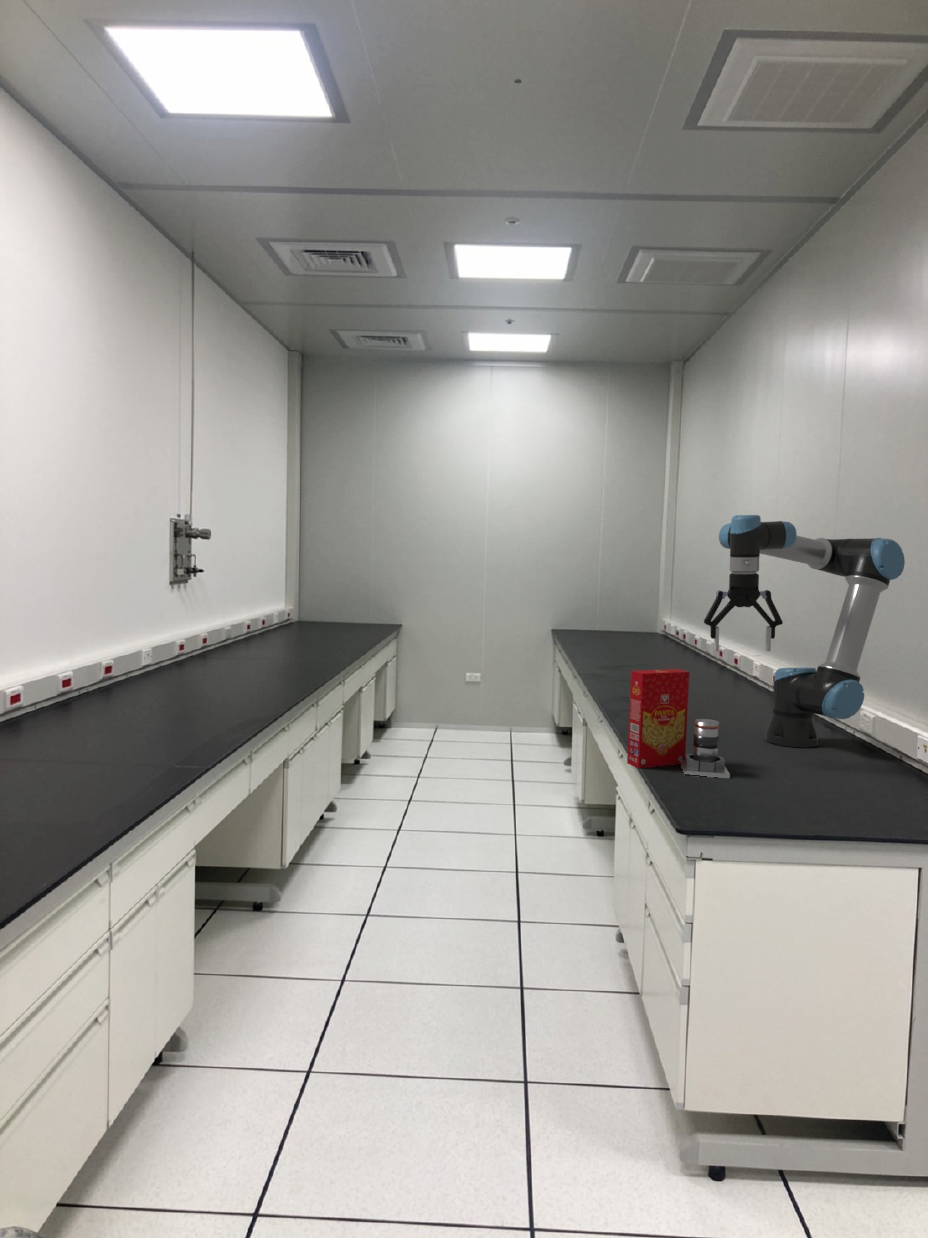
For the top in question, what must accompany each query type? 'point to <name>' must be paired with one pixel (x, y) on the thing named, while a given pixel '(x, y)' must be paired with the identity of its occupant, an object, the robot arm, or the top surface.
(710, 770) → the mount
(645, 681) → the food packaging
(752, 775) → the top surface
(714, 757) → the lens
